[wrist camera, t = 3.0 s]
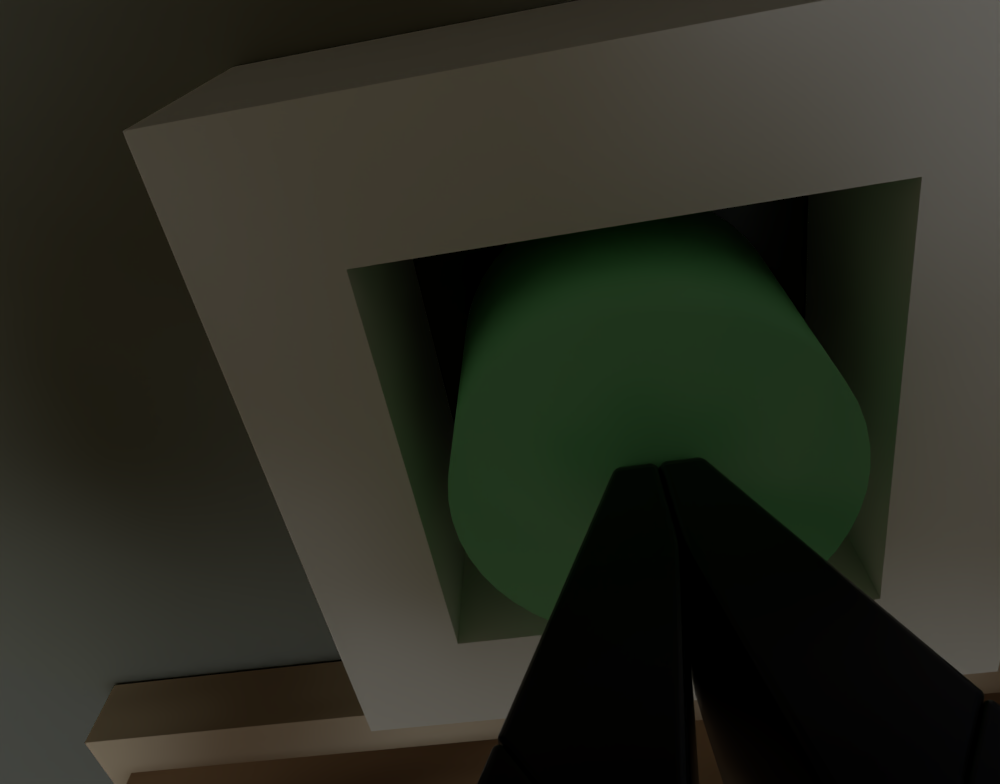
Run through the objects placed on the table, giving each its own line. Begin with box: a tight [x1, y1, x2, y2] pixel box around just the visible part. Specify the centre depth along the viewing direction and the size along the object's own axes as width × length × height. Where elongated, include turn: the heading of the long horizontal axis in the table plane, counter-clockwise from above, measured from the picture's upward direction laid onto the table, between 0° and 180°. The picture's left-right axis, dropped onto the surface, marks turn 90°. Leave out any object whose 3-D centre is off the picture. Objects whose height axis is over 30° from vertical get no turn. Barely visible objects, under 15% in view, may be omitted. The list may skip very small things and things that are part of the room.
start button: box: [448, 211, 871, 620], centre depth 9 cm, size 4×4×3 cm
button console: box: [122, 0, 1000, 731], centre depth 10 cm, size 8×8×3 cm
